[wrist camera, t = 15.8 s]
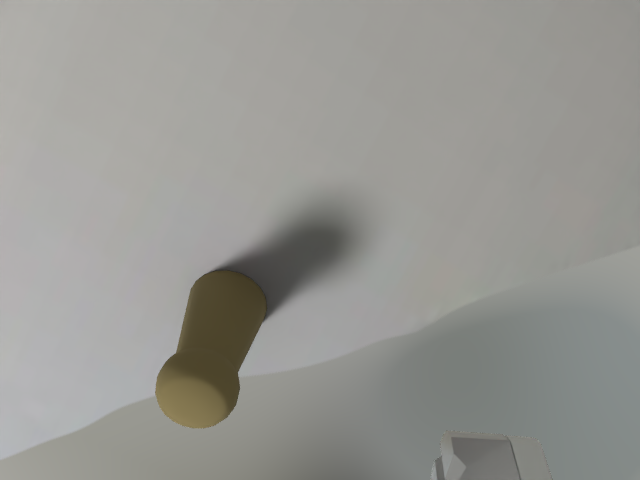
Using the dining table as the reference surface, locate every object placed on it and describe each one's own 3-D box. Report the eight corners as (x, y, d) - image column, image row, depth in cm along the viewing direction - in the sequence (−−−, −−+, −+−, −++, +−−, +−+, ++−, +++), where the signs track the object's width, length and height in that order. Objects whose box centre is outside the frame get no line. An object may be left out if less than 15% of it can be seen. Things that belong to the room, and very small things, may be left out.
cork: (219, 255, 43) (177, 352, 33) (282, 302, 44) (260, 407, 35) (174, 305, 45) (122, 408, 36) (236, 347, 47) (203, 457, 37)
